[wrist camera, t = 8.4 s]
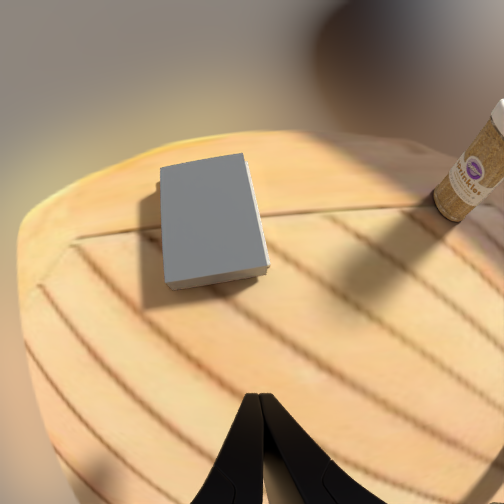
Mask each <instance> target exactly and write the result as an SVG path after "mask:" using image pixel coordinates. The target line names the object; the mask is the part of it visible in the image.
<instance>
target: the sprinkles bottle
mask: <svg viewBox="0 0 504 504" xmlns="http://www.w3.org/2000/svg"><path fill="white" fill-rule="evenodd" d="M503 180H504V99H501V100H500V101H499V102H498V104H497V105H496V106H495V108H494V109H493V111H492V113H491V116H490V120H489V121H488V122H487V124H486V125H485V127H484V128H483V129H482V130H481V132H480V133H479V134H478V136H477V137H476V139H475V140H474V141H473V143H472V144H471V145H470V146H469V148H468V149H467V150H466V151H465V152H464V153H463V154H462V156H461V157H460V158H459V159H458V161H457V162H456V163H455V165H454V166H453V167H452V168H451V170H450V172H449V173H448V175H447V176H446V177H445V178H444V180H443V181H442V182H441V183H440V184H439V185H437V186H436V188H435V190H434V201H435V203H436V205H437V208H438V209H439V211H440V212H441V213H442V214H443V215H444V216H445V217H446V218H448V219H449V220H451V221H455V222H458V221H461V220H463V219H464V218H465V217H466V215H467V214H468V213H469V212H470V211H471V210H473V209H474V208H475V207H476V206H477V205H479V204H480V203H481V202H482V201H483V200H484V199H485V198H486V197H487V196H488V195H489V194H490V193H491V192H492V191H493V190H494V189H495V188H496V187H497V186H498V185H499V184H500V183H501V182H502V181H503Z"/></svg>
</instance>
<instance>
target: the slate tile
mask: <svg viewBox="0 0 504 504" xmlns="http://www.w3.org/2000/svg"><path fill="white" fill-rule="evenodd" d="M160 198H161V229H162V249H163V264H164V277H165V283H166V284H167V285H168V286H169V287H170V288H171V289H172V290H179V289H185V288H191V287H198V286H204V285H210V284H216V283H222V282H228V281H233V280H239V279H245V278H251V277H256V276H262V275H266V273H267V261H266V256H265V252H264V247H263V242H262V238H261V233H260V229H259V224H258V219H257V215H256V210H255V206H254V201H253V197H252V192H251V188H250V183H249V179H248V174H247V170H246V165H245V161H244V156H243V153H239V154H232V155H226V156H220V157H214V158H208V159H202V160H197V161H192V162H186V163H181V164H176V165H171V166H167V167H162V168H160Z"/></svg>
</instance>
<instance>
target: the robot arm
mask: <svg viewBox="0 0 504 504" xmlns="http://www.w3.org/2000/svg"><path fill="white" fill-rule="evenodd" d="M330 460H331V458H330V457H329V456H328V455H327V454H326V453H325V452H324V451H323V450H322V449H321V447H320V446H319V445H318V444H317V443H316V442H315V441H314V440H313V439H312V438H311V437H310V436H309V435H308V434H307V433H306V431H305V430H304V429H303V428H302V427H301V426H300V425H299V424H298V423H297V422H296V420H295V419H294V418H293V417H292V416H291V415H290V414H289V413H288V411H287V410H286V409H285V408H284V407H283V406H282V405H281V403H280V402H279V401H278V400H277V399H276V398H275V396H274V395H273V394H271V393H260V394H259V395H258V394H257V393H246V394H245V396H244V398H243V400H242V403H241V405H240V407H239V410H238V412H237V414H236V416H235V419H234V421H233V423H232V425H231V428H230V430H229V432H228V434H227V437H226V439H225V441H224V443H223V445H222V447H221V450H220V452H219V454H218V456H217V458H216V460H215V462H214V465H213V467H212V468H211V470H210V472H209V475H208V476H207V478H206V480H205V482H204V484H203V486H202V487H201V489H200V490H199V492H198V493H197V495H196V496H195V498H194V499H193V501H192V502H191V503H190V504H262V502H263V479H264V483H265V488H266V492H267V497H268V501H269V504H387V503H385V502H384V501H383V500H381V499H380V498H378V497H377V496H375V495H374V494H372V493H371V492H370V491H368V490H367V489H365V488H364V487H363V486H361V485H360V484H359V483H357V482H356V481H355V480H354V479H352V478H351V477H350V476H349V475H348V474H347V473H346V472H344V471H343V470H342V469H341V468H340V467H339V466H338V465H337V464H336V463H335V462H334V461H333V460H331V461H330ZM490 504H504V503H496V502H492V503H490Z"/></svg>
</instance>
